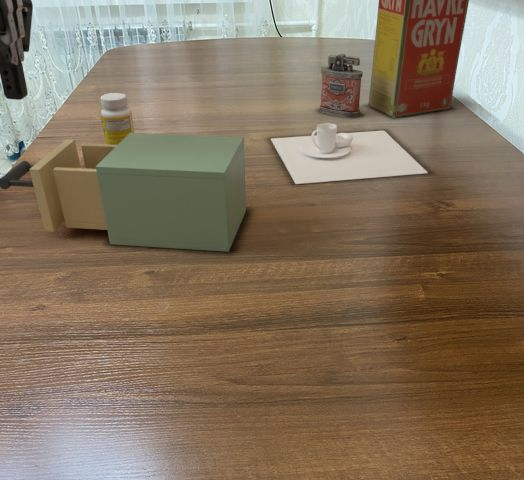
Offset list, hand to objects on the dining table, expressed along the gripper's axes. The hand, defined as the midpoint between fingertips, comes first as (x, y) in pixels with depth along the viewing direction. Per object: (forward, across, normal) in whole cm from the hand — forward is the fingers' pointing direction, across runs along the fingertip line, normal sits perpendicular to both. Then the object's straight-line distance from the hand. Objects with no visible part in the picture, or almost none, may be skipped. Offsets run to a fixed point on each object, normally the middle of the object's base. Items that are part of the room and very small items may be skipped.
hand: (16, 97), depth 71 cm
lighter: (+13, -47, +40) cm, 62 cm away
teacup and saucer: (+13, -24, +40) cm, 49 cm away
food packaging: (+12, -51, +53) cm, 74 cm away
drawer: (+14, +1, +7) cm, 15 cm away
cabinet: (+14, +2, +19) cm, 24 cm away
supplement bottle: (+15, -25, +4) cm, 29 cm away
